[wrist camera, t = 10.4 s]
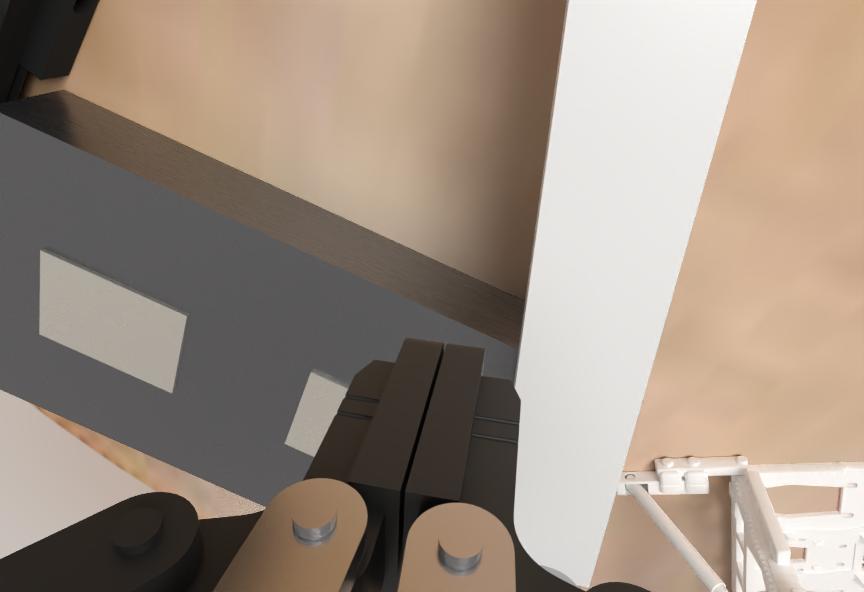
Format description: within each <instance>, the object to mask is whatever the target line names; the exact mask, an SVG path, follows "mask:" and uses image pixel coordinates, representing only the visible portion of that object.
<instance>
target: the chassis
mask: <svg viewBox="0 0 864 592" xmlns="http://www.w3.org/2000/svg"><path fill="white" fill-rule="evenodd" d="M524 307H525V301H522V300H520V299H518V298H516V297H514V296H512V295H509V294H507V293H505V292H503V291H501V290H498V289H496V288H494V287H492V286H490V285H488V284H485V283H483V282H481V281H479V280H477V279H475V278H472V277H470V276H468V275H466V274H464V273H461V272H459V271H457V270H455V269H453V268H451V267H448V266H446V265H444V264H442V263H440V262H437V261H435V260H433V259H431V258H429V257H427V256H424V255H422V254H420V253H418V252H416V251H414V250H411V249H409V248H407V247H405V246H403V245H400V244H398V243H396V242H394V241H392V240H390V239H387V238H385V237H383V236H381V235H379V234H376V233H374V232H372V231H370V230H368V229H366V228H363V227H361V226H359V225H357V224H355V223H353V222H350V221H348V220H346V219H344V218H342V217H339V216H337V215H335V214H333V213H331V212H329V211H326V210H324V209H322V208H320V207H318V206H316V205H313V204H311V203H309V202H307V201H305V200H302V199H300V198H298V197H296V196H294V195H292V194H289V193H287V192H285V191H283V190H281V189H278V188H276V187H274V186H272V185H270V184H268V183H265V182H263V181H261V180H259V179H257V178H255V177H252V176H250V175H248V174H246V173H244V172H241V171H239V170H237V169H235V168H233V167H231V166H228V165H226V164H224V163H222V162H220V161H218V160H215V159H213V158H211V157H209V156H207V155H204V154H202V153H200V152H198V151H196V150H194V149H191V148H189V147H187V146H185V145H183V144H180V143H178V142H176V141H174V140H172V139H170V138H167V137H165V136H163V135H161V134H159V133H157V132H154V131H152V130H150V129H148V128H146V127H143V126H141V125H139V124H137V123H135V122H133V121H130V120H128V119H126V118H124V117H122V116H120V115H117V114H115V113H113V112H111V111H109V110H106V109H104V108H102V107H100V106H98V105H96V104H93V103H91V102H89V101H87V100H85V99H82V98H80V97H78V96H76V95H74V94H72V93H69V92H67V91H65V90H61V91H56V92H51V93H47V94H42V95H37V96H33V97H28V98H23V99H19V100H14V101H9V102H5V103H0V390H3V391H5V392H7V393H10V394H12V395H14V396H16V397H19V398H21V399H23V400H25V401H28V402H30V403H32V404H34V405H37V406H39V407H41V408H43V409H46V410H48V411H50V412H52V413H55V414H57V415H59V416H61V417H64V418H66V419H68V420H70V421H73V422H75V423H77V424H79V425H82V426H84V427H86V428H89V429H91V430H93V431H95V432H98V433H100V434H102V435H104V436H107V437H109V438H111V439H113V440H116V441H118V442H120V443H122V444H125V445H127V446H129V447H131V448H134V449H136V450H138V451H140V452H143V453H145V454H147V455H149V456H152V457H154V458H156V459H158V460H161V461H163V462H165V463H168V464H170V465H172V466H174V467H177V468H179V469H181V470H183V471H186V472H188V473H190V474H192V475H195V476H197V477H199V478H201V479H204V480H206V481H208V482H210V483H213V484H215V485H217V486H219V487H222V488H224V489H226V490H228V491H231V492H233V493H235V494H237V495H240V496H242V497H244V498H247V499H249V500H251V501H253V502H256V503H258V504H260V505H262V506H265V507H267V506H268V504H269V503H270V502H271V501H272V499H273V498H274V497H275V496H276V495H277V494H279V493H280V492H281V491H283V490H284V489H285V488H287V487H289V486H291V485H293V484H295V483H298V482H301V481H302V480H303V479H304V477H305V475H306V473H307V471H308V469H309V467H310V465H311V463H312V461H313V459H314V457H315V455H316V453H317V451H318V449H319V447H320V445H321V443H322V441H323V439H324V437H325V435H326V433H327V431H328V429H329V426H330V424H331V422H332V420H333V418H334V416H335V415H337V410H338V408H339V406H340V404H341V402H342V400H343V398H345V394H346V392H347V390H348V388H349V386H350V384H351V382H352V380H353V378H354V376H355V374H357V373H358V372H359V371H360V370H362V369H363V368H364V367H366V366H367V365H368V364H369V363H371V362H372V361H373V360H380V361H387V362H393V363H395V362H396V359H397V357H398V354H399V352H400V350H401V347H402V345H403V342H404V340H405V338H406V337H407V338H414V339H421V340H428V341H435V342H442V343H445V348H446V345H447V343H450V344H457V345H464V346H470V347H477V348H484V349H486V352H485V361H484V369H483V376H487V377H493V378H500V379H507V380H511V382H512V384H513V386H514V379H515V372H516V365H517V358H518V350H519V343H520V336H521V329H522V321H523V314H524Z"/></svg>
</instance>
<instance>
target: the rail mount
mask: <svg viewBox="0 0 864 592" xmlns="http://www.w3.org/2000/svg"><path fill="white" fill-rule="evenodd" d="M75 2H76V4H75ZM97 2H98V0H77V1H76V0H0V103H5V102H9V101H14V100H18V97H19V95H20V92H21V89H22V86H23V83H24V81H25V78H26V75H27V72H28V71H29V72H31V73H32V74H33V75H34V76H36V77H37V78H38V79H39V80H44V79H49V78H54V77H60V76H65V75H68V74H69V72H70V69H71V67H72V64H73V62H74V59H75V57H76V54H77V52H78V49H79V47H80V44H81V42H82V39H83V37H84V34H85V32H86V29H87V27H88V24H89V22H90V20H91V17H92V15H93V12H94V10H95V7H96V5H97ZM74 4H75V5H74Z"/></svg>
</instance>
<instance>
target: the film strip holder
mask: <svg viewBox="0 0 864 592" xmlns="http://www.w3.org/2000/svg"><path fill="white" fill-rule="evenodd" d="M654 462H655V469H656V471H638V472H622V474H621V478H620V481H619V485H618V488H617V492H616V494H617V495H633V497H634V498H635V499H636V500H637V502H638V503H639V504H640V505H641V507H642V508H643V509H644V510H645V512H646V513H647V514H648V515H649V517H650V518H651V519H652V520H653V521H654V523H655V524H656V525H657V526H658V528H659V529H660V530H661V531H662V533H663V534H664V535H665V536H666V538H667V539H668V540H669V541H670V543H671V544H672V545H673V546H674V547H675V549H676V550H677V551H678V552H679V554H680V555H681V556H682V557H683V559H684V560H685V561H686V562H687V564H688V565H689V566H690V567H691V568H692V570H693V571H694V572H695V573H696V575H697V576H698V577H699V578H700V580H701V581H702V582H703V583H704V585H705V586H706V587H707V588H708V590H709V591H710V592H728V590H727V589H726V585H725V583H724V582H723V581H722V580H721V579H720V577H719V576H718V575H717V574H716V573H715V571H714V570H713V569H712V568H711V567H710V566H709V564H708V563H707V562H706V561H705V560H704V559H703V557H702V556H701V555H700V554H699V553H698V551H697V550H696V549H695V548H694V547H693V546H692V544H691V543H690V542H689V541H688V540H687V538H686V537H685V536H684V535H683V534H682V533H681V531H680V530H679V529H678V528H677V527H676V526H675V524H674V523H673V522H672V521H671V520H670V518H669V517H668V516H667V515H666V514H665V513H664V511H663V510H662V509H661V508H660V507H659V505H658V504H657V503H656V502H655V501H654V500H653V498H652V497H651V496H650V495H659V494H708V493H709V480H708V476H720V475H731V482H729V494H730V497H731V580H732V592H759V591H763V590H766V592H807V591H815V592H864V565H862V563H864V560H863V555H864V461H856V462H844V461H838V462H823V463H822V462H821V463H791V464H752V465H750V464H748V460H747V458H746V457H744V456H729V457H698V458H696V457H689V458H663V459H655V460H654ZM628 474H632V475H628ZM626 475H628V476H627V477H626V478H625V476H626ZM633 475H634V476H635V477H634V476H633ZM847 483H854V484H847ZM790 484H793V485H812V486H831V487H841V494H840V503H839V511H829V512H815V513H802V514H788V515H786V514H778V513H775V511H774V509H773V506H772V504H771V501H770V499H769V497H768V494H767V492H766V489H765V488H769V487H776V486H783V485H790ZM626 488H627V490H628V491H629V492H628V491H627V490H626ZM844 513H850V514H844ZM789 547H802V548H805V556H804V558H803V559H790V556H791V550H790V548H789Z"/></svg>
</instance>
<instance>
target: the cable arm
mask: <svg viewBox="0 0 864 592" xmlns="http://www.w3.org/2000/svg"><path fill="white" fill-rule="evenodd" d="M756 2H757V0H567V2H566V9H565V16H564V24H563V31H562V38H561V45H560V53H559V60H558V67H557V75H556V82H555V89H554V96H553V104H552V111H551V118H550V125H549V133H548V140H547V147H546V154H545V162H544V169H543V176H542V183H541V191H540V198H539V205H538V212H537V220H536V227H535V234H534V241H533V249H532V256H531V263H530V270H529V278H528V285H527V292H526V299H525V307H524V314H523V321H522V329H521V336H520V343H519V350H518V358H517V365H516V372H515V379H514V388H515V390H516V392H517V394H518V395H519V397H520V399H521V409H520V423H519V440H518V456H517V471H516V487H515V503H514V526H515V531H516V534H517V536H518V539H519V541H520V543H521V544H522V546H523V548H524V549H525V551H526V552H527V553H528V554H529V556H530V557H531V558H532V559H533V560H534V561H535V562H536V563H537V564H538V565H540V566H541V567H542V568H544V569H545V570H546V571H548V572H550V573H551V574H553V575H555V576H556V577H558V578H560V579H562V580H564V581H566V582H568V583H570V584H572V585H574V586H576V587H577V588H579V589H580V586H582V587H587V588H589V586H590V583H591V579H592V576H593V572H594V569H595V565H596V562H597V558H598V555H599V551H600V548H601V544H602V541H603V537H604V534H605V530H606V527H607V523H608V520H609V516H610V513H611V509H612V506H613V502H614V499H615V495H616V492H617V488H618V485H619V481H620V478H621V474H622V471H623V467H624V464H625V460H626V457H627V453H628V450H629V446H630V443H631V439H632V436H633V432H634V429H635V425H636V422H637V418H638V415H639V411H640V408H641V404H642V401H643V397H644V394H645V390H646V387H647V383H648V380H649V376H650V373H651V369H652V366H653V362H654V359H655V355H656V352H657V348H658V345H659V341H660V338H661V334H662V331H663V327H664V324H665V320H666V317H667V313H668V310H669V306H670V303H671V299H672V296H673V292H674V289H675V285H676V282H677V278H678V275H679V271H680V268H681V264H682V261H683V257H684V254H685V250H686V247H687V243H688V240H689V236H690V233H691V229H692V226H693V222H694V219H695V215H696V212H697V208H698V205H699V201H700V198H701V194H702V191H703V187H704V184H705V180H706V177H707V173H708V170H709V166H710V163H711V159H712V156H713V152H714V149H715V145H716V142H717V138H718V135H719V131H720V128H721V124H722V121H723V117H724V114H725V110H726V107H727V103H728V100H729V96H730V93H731V89H732V86H733V82H734V79H735V75H736V72H737V68H738V65H739V61H740V58H741V55H742V51H743V48H744V44H745V41H746V37H747V34H748V30H749V27H750V23H751V20H752V16H753V13H754V9H755V6H756Z"/></svg>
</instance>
